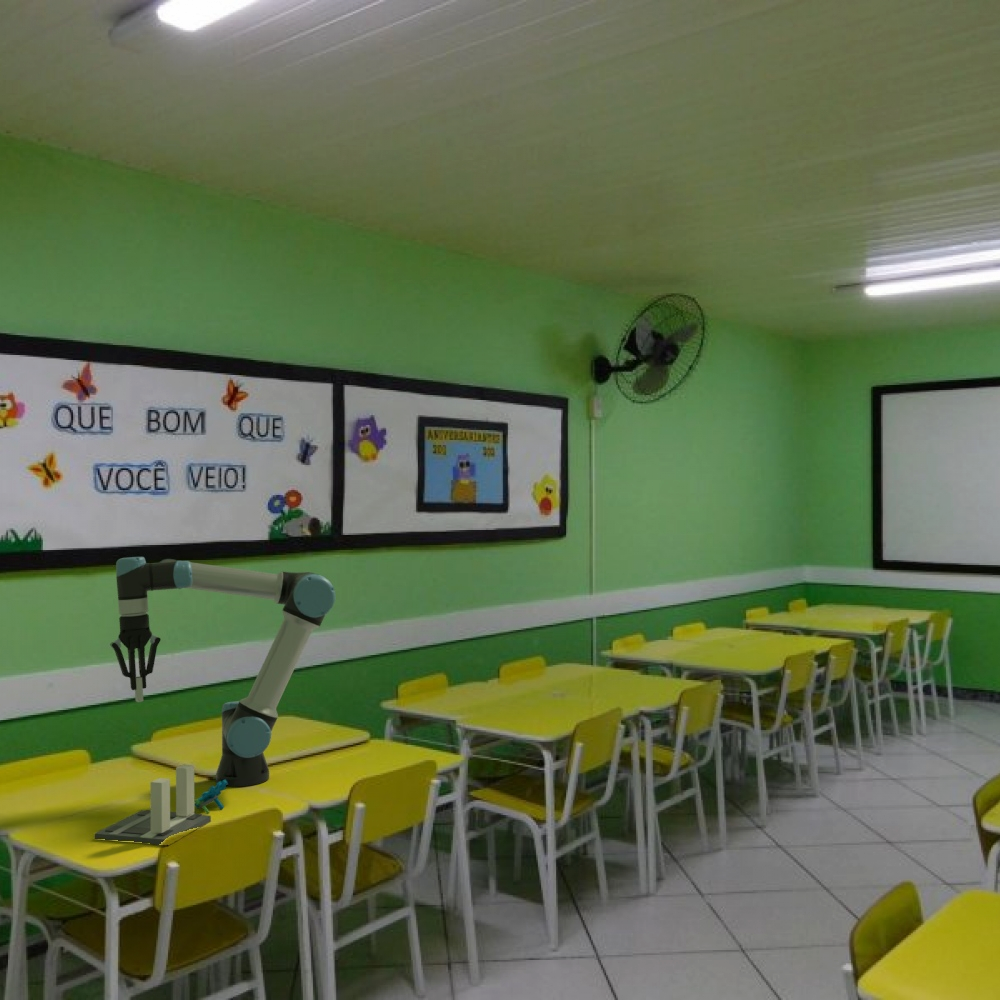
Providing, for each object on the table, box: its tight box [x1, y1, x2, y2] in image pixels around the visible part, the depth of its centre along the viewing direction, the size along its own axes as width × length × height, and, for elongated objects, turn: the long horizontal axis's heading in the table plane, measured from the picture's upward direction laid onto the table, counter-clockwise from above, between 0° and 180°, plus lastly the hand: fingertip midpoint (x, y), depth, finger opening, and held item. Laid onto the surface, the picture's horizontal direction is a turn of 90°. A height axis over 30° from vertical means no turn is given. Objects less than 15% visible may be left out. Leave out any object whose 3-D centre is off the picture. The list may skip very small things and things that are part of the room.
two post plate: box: [93, 764, 212, 846], centre depth 247 cm, size 20×19×14 cm
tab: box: [150, 777, 171, 833], centre depth 240 cm, size 3×4×12 cm
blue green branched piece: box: [194, 780, 228, 815], centre depth 264 cm, size 11×6×10 cm
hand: (139, 701), depth 270 cm, fingers closed
